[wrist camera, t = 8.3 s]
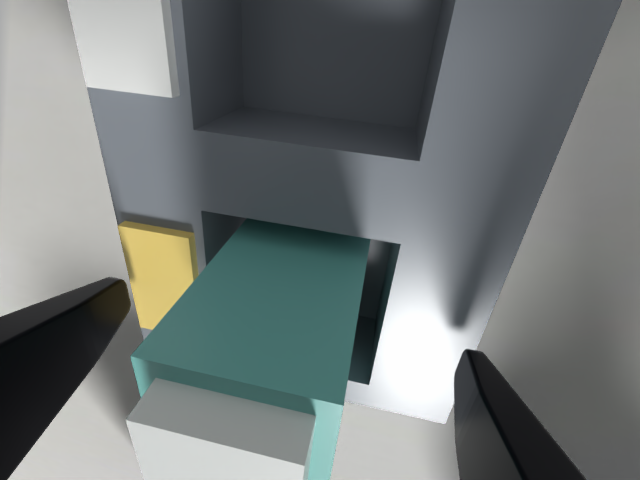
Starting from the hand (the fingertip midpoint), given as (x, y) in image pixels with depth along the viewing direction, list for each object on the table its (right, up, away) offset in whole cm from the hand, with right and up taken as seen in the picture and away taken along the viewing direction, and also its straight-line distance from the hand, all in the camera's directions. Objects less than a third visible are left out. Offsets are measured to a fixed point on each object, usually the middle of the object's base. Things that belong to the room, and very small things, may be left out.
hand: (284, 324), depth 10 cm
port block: (+1, +5, +2) cm, 6 cm away
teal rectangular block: (+1, +2, +3) cm, 4 cm away
